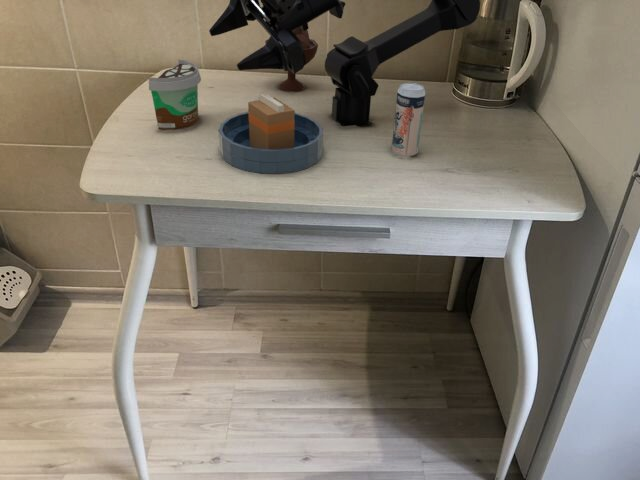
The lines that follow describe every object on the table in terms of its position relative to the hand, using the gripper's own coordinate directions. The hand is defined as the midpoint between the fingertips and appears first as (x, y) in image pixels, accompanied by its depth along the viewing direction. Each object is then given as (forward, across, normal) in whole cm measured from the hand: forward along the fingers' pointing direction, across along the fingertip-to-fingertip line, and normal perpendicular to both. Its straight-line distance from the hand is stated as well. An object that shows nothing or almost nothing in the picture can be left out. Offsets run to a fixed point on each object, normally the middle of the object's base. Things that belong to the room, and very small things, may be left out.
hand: (223, 50), depth 97 cm
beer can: (-18, +25, +17) cm, 35 cm away
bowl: (+2, +14, +12) cm, 18 cm away
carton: (+2, +14, +11) cm, 18 cm away
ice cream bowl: (-14, -11, +30) cm, 35 cm away
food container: (+11, -4, +15) cm, 19 cm away
